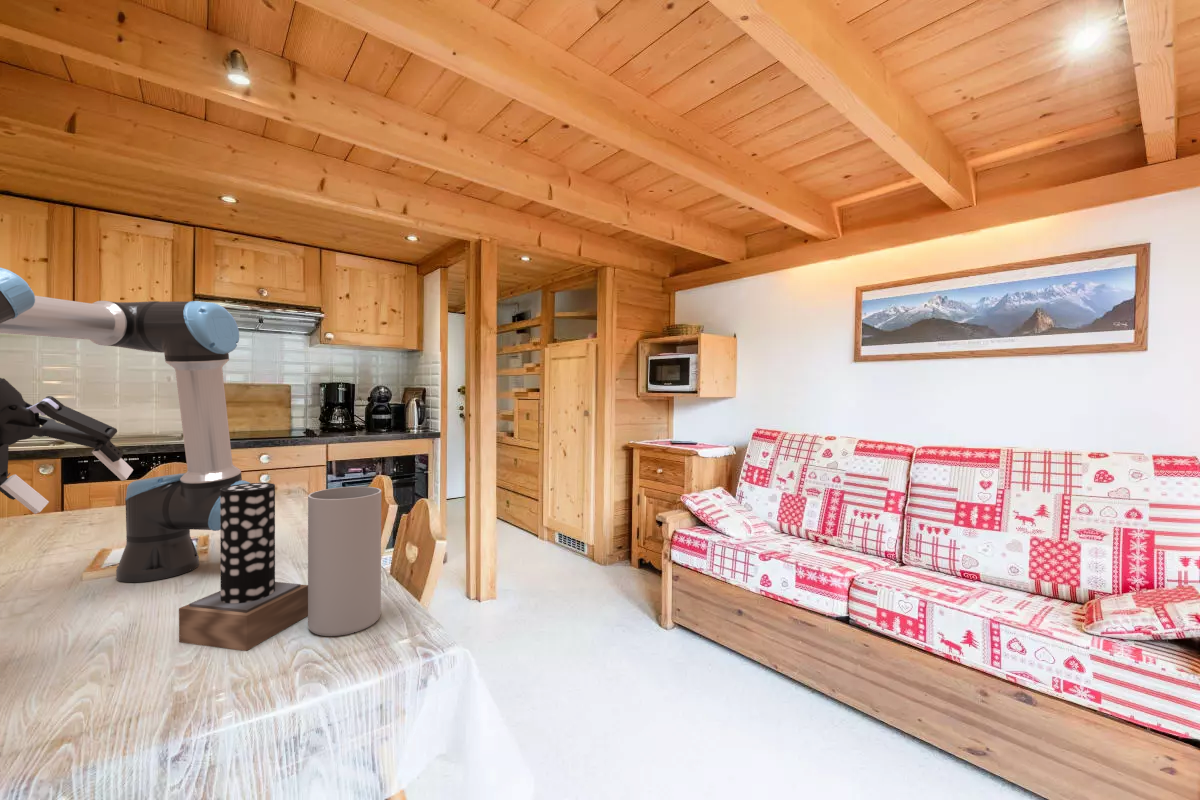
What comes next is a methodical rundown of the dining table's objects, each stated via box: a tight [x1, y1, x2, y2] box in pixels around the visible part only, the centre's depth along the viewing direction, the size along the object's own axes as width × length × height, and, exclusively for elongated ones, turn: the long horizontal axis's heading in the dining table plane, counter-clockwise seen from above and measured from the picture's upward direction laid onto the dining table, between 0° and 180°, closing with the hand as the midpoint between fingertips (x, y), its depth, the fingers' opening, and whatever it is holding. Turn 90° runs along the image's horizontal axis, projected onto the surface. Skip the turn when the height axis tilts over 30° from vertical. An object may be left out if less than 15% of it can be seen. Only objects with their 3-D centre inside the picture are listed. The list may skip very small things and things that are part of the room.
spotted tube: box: [219, 482, 276, 603], centre depth 94 cm, size 8×8×20 cm
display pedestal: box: [178, 581, 308, 652], centre depth 94 cm, size 14×14×6 cm
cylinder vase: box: [307, 486, 382, 637], centre depth 97 cm, size 12×12×25 cm
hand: (85, 491), depth 86 cm, fingers open, 13 cm apart
